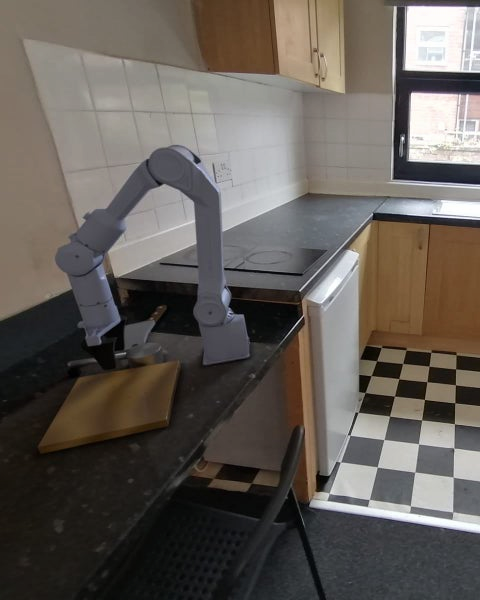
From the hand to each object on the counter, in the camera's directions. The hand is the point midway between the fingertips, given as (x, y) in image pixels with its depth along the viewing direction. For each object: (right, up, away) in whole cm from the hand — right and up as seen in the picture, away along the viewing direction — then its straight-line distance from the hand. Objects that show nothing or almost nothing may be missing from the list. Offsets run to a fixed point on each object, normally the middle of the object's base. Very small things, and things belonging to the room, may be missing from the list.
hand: (114, 359), depth 85 cm
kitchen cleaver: (-5, +5, +17) cm, 18 cm away
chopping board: (+8, -7, -10) cm, 15 cm away
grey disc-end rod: (0, -2, +1) cm, 2 cm away
